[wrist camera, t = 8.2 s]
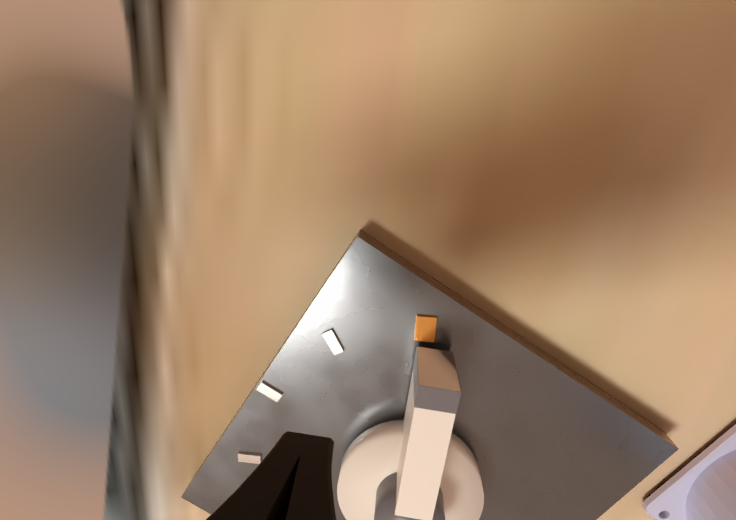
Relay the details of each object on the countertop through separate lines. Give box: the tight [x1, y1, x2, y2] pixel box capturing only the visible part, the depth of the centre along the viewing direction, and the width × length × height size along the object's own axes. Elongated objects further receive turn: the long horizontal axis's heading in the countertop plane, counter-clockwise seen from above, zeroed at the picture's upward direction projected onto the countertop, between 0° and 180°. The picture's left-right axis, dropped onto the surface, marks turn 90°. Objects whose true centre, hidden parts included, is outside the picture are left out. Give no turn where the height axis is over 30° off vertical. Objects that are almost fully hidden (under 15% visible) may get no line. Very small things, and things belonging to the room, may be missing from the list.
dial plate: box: [182, 230, 678, 520], centre depth 22 cm, size 18×18×1 cm
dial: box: [337, 346, 484, 520], centre depth 19 cm, size 11×7×3 cm, turn 173°
